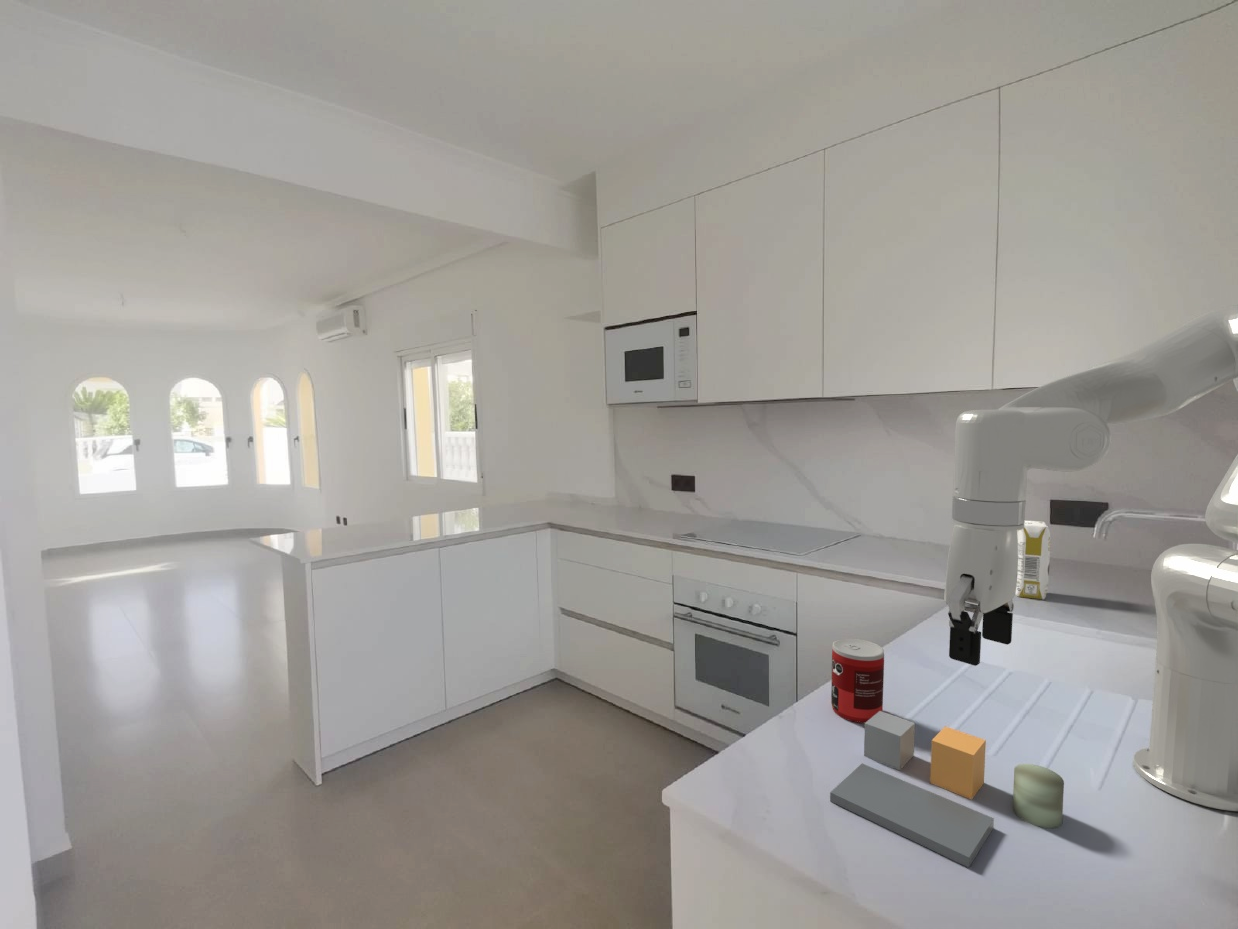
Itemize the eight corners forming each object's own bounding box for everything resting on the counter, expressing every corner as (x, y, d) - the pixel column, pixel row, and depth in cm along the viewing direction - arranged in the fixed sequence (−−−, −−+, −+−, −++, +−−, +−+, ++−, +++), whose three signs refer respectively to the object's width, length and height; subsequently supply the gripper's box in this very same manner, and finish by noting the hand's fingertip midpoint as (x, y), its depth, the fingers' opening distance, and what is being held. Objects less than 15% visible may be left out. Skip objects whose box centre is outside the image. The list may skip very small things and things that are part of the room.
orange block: (943, 767, 85) (945, 726, 85) (983, 783, 82) (985, 740, 81) (930, 783, 82) (931, 740, 81) (971, 800, 78) (973, 755, 78)
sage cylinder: (1018, 796, 79) (1020, 759, 78) (1066, 814, 75) (1068, 775, 75) (1007, 815, 75) (1009, 776, 75) (1057, 834, 72) (1059, 794, 71)
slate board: (861, 771, 84) (861, 763, 84) (993, 827, 73) (993, 818, 73) (830, 801, 78) (830, 792, 78) (968, 868, 67) (969, 857, 67)
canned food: (840, 696, 106) (841, 634, 105) (888, 710, 101) (890, 645, 100) (823, 713, 100) (824, 648, 99) (874, 729, 95) (876, 660, 94)
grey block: (878, 742, 92) (879, 710, 91) (913, 756, 88) (914, 723, 88) (863, 756, 88) (864, 723, 88) (899, 771, 85) (900, 736, 84)
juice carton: (1013, 597, 159) (1016, 524, 157) (1010, 588, 166) (1013, 519, 165) (1048, 601, 155) (1052, 527, 153) (1043, 592, 163) (1047, 521, 161)
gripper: (982, 501, 82) (976, 626, 84) (922, 517, 71) (916, 660, 73) (1048, 508, 76) (1040, 642, 78) (993, 526, 65) (986, 681, 67)
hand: (980, 650), depth 75 cm, fingers open, 9 cm apart
